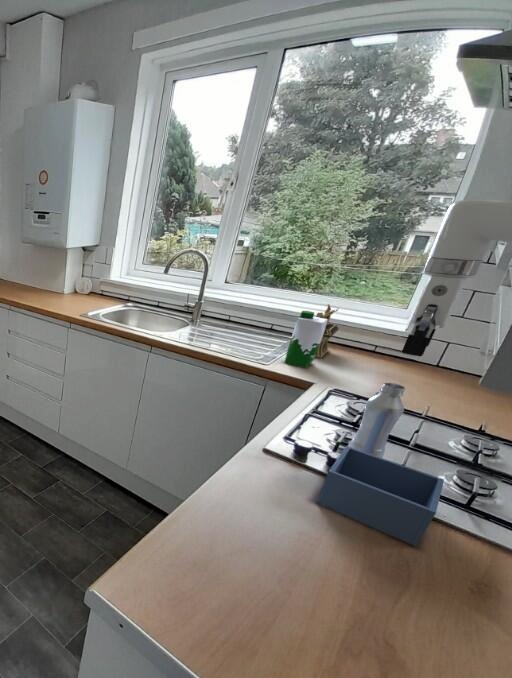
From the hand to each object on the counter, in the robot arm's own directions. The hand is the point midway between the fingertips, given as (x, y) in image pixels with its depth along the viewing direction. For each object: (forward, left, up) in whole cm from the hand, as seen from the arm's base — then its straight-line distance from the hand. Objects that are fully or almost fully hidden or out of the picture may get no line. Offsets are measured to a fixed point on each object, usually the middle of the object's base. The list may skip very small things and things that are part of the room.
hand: (414, 349), depth 88 cm
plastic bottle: (+1, 0, -29) cm, 29 cm away
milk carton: (+31, -64, -29) cm, 77 cm away
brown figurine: (+31, -86, -29) cm, 96 cm away
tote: (-5, +20, -29) cm, 35 cm away
